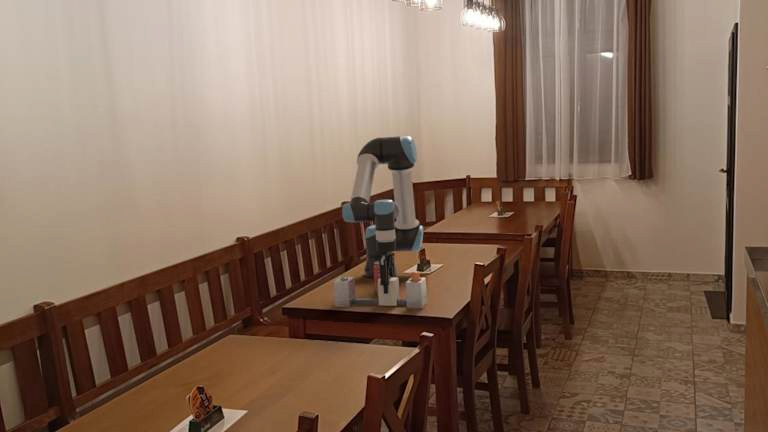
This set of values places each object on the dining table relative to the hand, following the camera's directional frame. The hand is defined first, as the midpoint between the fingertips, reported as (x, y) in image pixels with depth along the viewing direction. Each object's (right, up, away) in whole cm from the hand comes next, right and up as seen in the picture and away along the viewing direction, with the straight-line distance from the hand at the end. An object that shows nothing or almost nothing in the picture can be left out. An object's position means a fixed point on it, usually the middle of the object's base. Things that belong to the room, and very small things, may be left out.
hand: (389, 299), depth 270 cm
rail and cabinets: (-3, -2, +1) cm, 4 cm away
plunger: (+10, +5, -4) cm, 12 cm away
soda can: (-2, 0, +20) cm, 20 cm away
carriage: (0, -2, 0) cm, 2 cm away
